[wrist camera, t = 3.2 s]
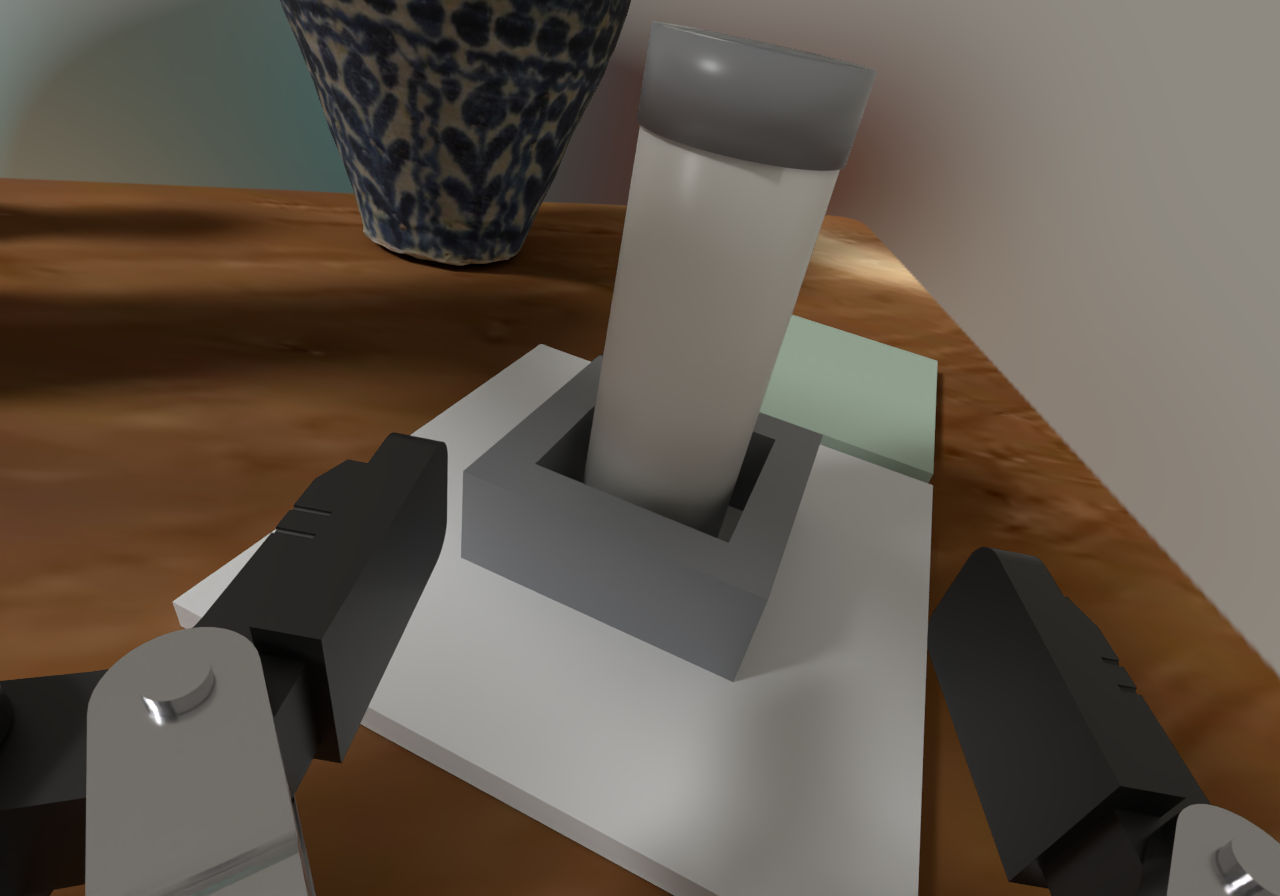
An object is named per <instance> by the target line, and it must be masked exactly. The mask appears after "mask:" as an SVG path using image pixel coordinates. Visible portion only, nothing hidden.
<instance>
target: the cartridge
mask: <svg viewBox="0 0 1280 896" xmlns="http://www.w3.org/2000/svg"><path fill="white" fill-rule="evenodd" d="M876 73H877V71H876V70H875V69H872V68H868V67H865V66H862V65H858V64H854V63H850V62H846V61H842V60H838V59H834V58H830V57H826V56H822V55H817V54H813V53H809V52H804V51H801V50H796V49H792V48H788V47H783V46H778V45H774V44H769V43H765V42H760V41H755V40H751V39H746V38H741V37H737V36H732V35H727V34H722V33H717V32H712V31H707V30H702V29H697V28H691V27H685V26H680V25H675V24H668V23H661V22H652V27H651V33H650V40H649V46H648V52H647V59H646V65H645V72H644V78H643V84H642V91H641V97H640V103H639V109H638V116H637V121H638V123H639V124H640V131H639V136H638V142H637V149H636V155H635V161H634V167H633V173H632V180H631V186H630V192H629V198H628V204H627V211H626V217H625V223H624V229H623V236H622V242H621V248H620V254H619V261H618V267H617V273H616V279H615V286H614V292H613V298H612V304H611V310H610V317H609V323H608V329H607V335H606V342H605V348H604V354H603V360H602V367H601V373H600V379H599V385H598V392H597V398H596V404H595V410H594V416H593V423H592V429H591V435H590V441H589V448H588V454H587V460H586V466H585V473H584V479H583V484H586V485H588V486H590V487H593V488H595V489H598V490H600V491H603V492H605V493H608V494H610V495H613V496H615V497H617V498H620V499H622V500H625V501H627V502H630V503H632V504H635V505H637V506H639V507H642V508H644V509H647V510H649V511H652V512H654V513H657V514H659V515H661V516H664V517H666V518H669V519H671V520H674V521H676V522H679V523H681V524H684V525H686V526H688V527H691V528H693V529H696V530H698V531H701V532H703V533H706V534H708V535H710V536H713V537H715V538H718V535H719V532H720V529H721V526H722V523H723V520H724V517H725V514H726V511H727V508H728V505H729V502H730V499H731V496H732V493H733V490H734V487H735V484H736V481H737V478H738V475H739V472H740V469H741V466H742V463H743V460H744V457H745V454H746V451H747V448H748V445H749V442H750V439H751V436H752V433H753V430H754V427H755V424H756V421H757V418H758V415H759V412H760V409H761V406H762V403H763V400H764V397H765V394H766V391H767V388H768V385H769V381H770V378H771V375H772V372H773V369H774V366H775V363H776V360H777V357H778V354H779V351H780V348H781V345H782V342H783V339H784V336H785V333H786V330H787V327H788V324H789V321H790V318H791V315H792V312H793V309H794V306H795V303H796V300H797V297H798V294H799V291H800V288H801V285H802V282H803V279H804V276H805V273H806V270H807V267H808V264H809V261H810V258H811V255H812V252H813V249H814V246H815V243H816V240H817V237H818V234H819V231H820V228H821V225H822V222H823V219H824V216H825V213H826V210H827V206H828V204H829V201H830V197H831V195H832V192H833V189H834V186H835V182H836V179H837V177H838V174H839V171H840V169H842V168H844V167H845V166H846V163H847V159H848V157H849V154H850V151H851V148H852V145H853V142H854V139H855V136H856V133H857V130H858V127H859V124H860V121H861V118H862V115H863V112H864V109H865V106H866V103H867V100H868V97H869V94H870V91H871V88H872V85H873V82H874V79H875V76H876Z"/></svg>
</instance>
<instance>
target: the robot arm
mask: <svg viewBox="0 0 1280 896" xmlns="http://www.w3.org/2000/svg"><path fill="white" fill-rule="evenodd" d="M447 487H448V451H447V446H446V443H445V442H442V441H436V440H431V439H426V438H421V437H415V436H410V435H405V434H400V433H391V434H390V435H388V437H387V438H386V439H385V440H384V442H383V443H382V445H381V446H380V447H379V449H378V450H377V451H376V453H375V454H374V456H373V457H372V458H371V460H370V461H369V462H368V463H363V462H358V461H353V460H346V461H344V462H343V463H341V464H339V465H338V466H336V467H334V468H333V469H331V470H329V471H328V472H326V473H324V474H322V475H321V476H319V477H317V478H316V479H315V480H314V481H313V482H312V483H311V484H310V486H309V487H308V488H307V489H306V491H305V492H304V493H303V494H302V496H301V497H300V498H299V499H298V500H297V502H296V503H295V504H294V508H293V510H289V511H288V513H287V514H286V515H285V516H284V518H283V519H282V520H281V521H280V523H279V524H278V525H277V526H276V531H275V533H272V532H271V534H270V535H269V536H268V537H267V538H266V540H265V541H264V542H263V543H262V545H261V546H260V547H259V548H258V550H257V551H256V552H255V553H254V554H253V556H252V557H251V558H250V559H249V561H248V562H247V563H246V564H245V565H244V567H243V568H242V569H241V570H240V572H239V573H238V574H237V575H236V577H235V578H234V579H233V580H232V581H231V583H230V584H229V585H228V586H227V588H226V589H225V590H224V591H223V592H222V594H221V595H220V596H219V597H218V599H217V600H216V601H215V602H214V604H213V605H212V606H211V607H210V608H209V610H208V611H207V612H206V613H205V615H204V616H203V617H202V618H201V619H200V620H199V621H198V623H197V624H196V625H195V626H194V627H193V628H188V629H183V630H179V631H175V632H171V633H168V634H165V635H162V636H159V637H157V638H155V639H153V640H150V641H148V642H146V643H144V644H142V645H141V646H139V647H137V648H135V649H134V650H132V651H131V652H129V653H128V654H127V655H125V656H124V657H122V658H121V659H120V660H119V661H118V662H116V663H115V664H114V665H113V666H112V667H111V668H110V669H107V670H100V671H93V672H85V673H75V674H65V675H55V676H45V677H35V678H25V679H16V680H6V681H0V896H50V894H51V893H52V891H53V890H55V889H60V888H66V887H71V886H77V885H82V884H85V896H316V892H315V888H314V883H313V878H312V874H311V869H310V864H309V860H308V855H307V851H306V846H305V841H304V837H303V832H302V827H301V823H300V818H299V813H298V809H297V804H296V799H295V795H294V794H295V792H296V790H297V788H298V787H299V785H300V783H301V781H302V779H303V777H304V775H305V773H306V771H307V769H308V767H309V765H310V763H311V761H312V759H313V758H314V759H320V760H325V761H331V762H337V763H342V761H343V759H344V757H345V755H346V753H347V750H348V748H349V746H350V744H351V742H352V740H353V738H354V736H355V734H356V731H357V729H358V727H359V725H360V723H361V721H362V719H363V717H364V715H365V713H366V710H367V708H368V706H369V704H370V702H371V700H372V698H373V696H374V694H375V692H376V689H377V687H378V685H379V683H380V681H381V679H382V677H383V675H384V673H385V670H386V668H387V666H388V664H389V662H390V660H391V658H392V656H393V654H394V652H395V649H396V647H397V645H398V643H399V641H400V639H401V637H402V635H403V633H404V631H405V628H406V626H407V624H408V622H409V620H410V618H411V616H412V614H413V612H414V609H415V607H416V605H417V603H418V601H419V599H420V597H421V595H422V593H423V591H424V588H425V586H426V584H427V582H428V580H429V578H430V576H431V574H432V572H433V570H434V567H435V565H436V563H437V561H438V559H439V556H440V553H441V550H442V547H443V543H444V539H445V534H446V527H447ZM927 643H928V650H929V654H930V657H931V660H932V663H933V666H934V669H935V672H936V675H937V677H938V680H939V683H940V686H941V689H942V692H943V695H944V697H945V700H946V703H947V706H948V709H949V712H950V715H951V718H952V720H953V723H954V726H955V729H956V732H957V735H958V738H959V741H960V743H961V746H962V749H963V752H964V755H965V758H966V761H967V764H968V766H969V769H970V772H971V775H972V778H973V781H974V784H975V787H976V789H977V792H978V795H979V798H980V801H981V804H982V807H983V809H984V812H985V815H986V818H987V821H988V824H989V827H990V830H991V832H992V835H993V838H994V841H995V844H996V847H997V850H998V853H999V855H1000V858H1001V861H1002V864H1003V867H1004V870H1005V873H1006V876H1007V878H1008V881H1009V882H1013V883H1019V884H1025V885H1031V886H1036V887H1042V888H1048V889H1049V890H1050V893H1051V895H1052V896H1280V844H1279V843H1278V842H1277V841H1276V840H1275V839H1273V838H1272V837H1271V836H1270V835H1268V834H1267V833H1266V832H1264V831H1263V830H1262V829H1260V828H1259V827H1257V826H1256V825H1254V824H1253V823H1251V822H1249V821H1248V820H1246V819H1244V818H1243V817H1241V816H1239V815H1237V814H1235V813H1233V812H1231V811H1228V810H1226V809H1223V808H1220V807H1217V806H1212V805H1211V804H1210V803H1209V801H1208V799H1207V798H1206V796H1205V795H1204V793H1203V792H1202V790H1201V788H1200V787H1199V785H1198V784H1197V782H1196V781H1195V779H1194V777H1193V776H1192V774H1191V773H1190V771H1189V770H1188V768H1187V766H1186V765H1185V763H1184V762H1183V760H1182V758H1181V757H1180V755H1179V754H1178V752H1177V751H1176V749H1175V747H1174V746H1173V744H1172V743H1171V741H1170V740H1169V738H1168V736H1167V735H1166V733H1165V732H1164V730H1163V728H1162V727H1161V725H1160V724H1159V722H1158V721H1157V719H1156V717H1155V716H1154V714H1153V713H1152V711H1151V710H1150V708H1149V706H1148V705H1147V703H1146V702H1145V700H1144V699H1143V697H1142V695H1138V694H1136V688H1137V687H1136V686H1135V684H1134V683H1133V681H1132V680H1131V678H1130V676H1129V675H1128V673H1127V672H1126V670H1125V669H1124V667H1121V666H1119V665H1118V662H1119V659H1118V657H1117V656H1116V654H1115V653H1114V651H1113V650H1112V648H1111V646H1110V645H1109V643H1108V642H1107V640H1106V639H1105V637H1104V635H1103V634H1102V632H1101V631H1100V629H1099V628H1098V627H1097V626H1096V625H1095V624H1094V623H1093V622H1092V621H1091V620H1090V619H1089V618H1088V617H1087V616H1086V615H1085V614H1084V613H1083V612H1082V611H1081V610H1080V609H1079V608H1078V607H1077V606H1076V605H1075V604H1074V603H1073V602H1072V601H1071V600H1070V599H1069V598H1068V597H1064V596H1063V594H1062V592H1061V591H1060V589H1059V588H1058V586H1057V584H1056V583H1055V581H1054V579H1053V578H1052V576H1051V574H1050V573H1049V571H1048V569H1047V568H1046V566H1045V565H1044V563H1043V562H1042V561H1041V560H1040V559H1039V558H1037V557H1035V556H1031V555H1025V554H1020V553H1015V552H1010V551H1004V550H999V549H994V548H989V547H981V548H978V549H977V550H975V551H974V552H973V553H972V554H971V555H970V557H969V558H968V560H967V561H966V563H965V564H964V566H963V567H962V569H961V571H960V572H959V574H958V575H957V577H956V578H955V580H954V581H953V583H952V584H951V586H950V587H949V589H948V590H947V592H946V594H945V595H944V597H943V598H942V600H941V601H940V603H939V604H938V606H937V607H936V609H935V610H934V612H933V614H932V616H931V619H930V622H929V626H928V634H927Z"/></svg>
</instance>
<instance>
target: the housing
mask: <svg viewBox="0 0 1280 896" xmlns="http://www.w3.org/2000/svg"><path fill="white" fill-rule="evenodd" d="M602 360H603V356H601V355H599V356H598V357H597V358H596V359H594V360H593V361H592V362H590V361H587V360H584V359H582V358H579V357H576V356H573V355H571V354H568V353H565V352H562V351H559V350H557V349H554V348H551V347H548V346H546V345H543V344H540V345H538V346H537V347H535V348H534V349H533V350H531V351H530V352H528V353H527V354H525V355H524V356H523V357H521V358H520V359H518V360H517V361H516V362H514V363H513V364H511V365H510V366H508V367H507V368H506V369H504V370H503V371H501V372H500V373H498V374H497V375H496V376H494V377H493V378H491V379H490V380H488V381H487V382H486V383H484V384H483V385H481V386H480V387H478V388H477V389H476V390H474V391H473V392H471V393H470V394H468V395H467V396H466V397H464V398H463V399H461V400H460V401H458V402H457V403H456V404H454V405H453V406H451V407H450V408H448V409H447V410H446V411H444V412H443V413H441V414H440V415H438V416H437V417H436V418H434V419H433V420H431V421H430V422H428V423H427V424H426V425H424V426H423V427H421V428H420V429H418V430H417V431H416V432H414V433H413V434H411V435H410V436H415V437H421V438H426V439H431V440H436V441H442V442H445V443H446V446H447V451H448V487H447V527H446V534H445V539H444V543H443V547H442V550H441V553H440V556H439V559H438V561H437V563H436V565H435V567H434V570H433V572H432V574H431V576H430V578H429V580H428V582H427V584H426V586H425V588H424V591H423V593H422V595H421V597H420V599H419V601H418V603H417V605H416V607H415V609H414V612H413V614H412V616H411V618H410V620H409V622H408V624H407V626H406V628H405V631H404V633H403V635H402V637H401V639H400V641H399V643H398V645H397V647H396V649H395V652H394V654H393V656H392V658H391V660H390V662H389V664H388V666H387V668H386V670H385V673H384V675H383V677H382V679H381V681H380V683H379V685H378V687H377V689H376V692H375V694H374V696H373V698H372V700H371V702H370V704H369V706H368V708H367V710H366V713H365V715H364V717H363V719H362V721H361V723H360V724H361V725H363V726H365V727H367V728H369V729H370V730H372V731H374V732H376V733H378V734H380V735H381V736H383V737H385V738H387V739H389V740H391V741H392V742H394V743H396V744H398V745H400V746H402V747H403V748H405V749H407V750H409V751H411V752H413V753H414V754H416V755H418V756H420V757H422V758H423V759H425V760H427V761H429V762H431V763H433V764H434V765H436V766H438V767H440V768H442V769H444V770H445V771H447V772H449V773H451V774H453V775H455V776H456V777H458V778H460V779H462V780H464V781H466V782H467V783H469V784H471V785H473V786H475V787H477V788H478V789H480V790H482V791H484V792H486V793H488V794H489V795H491V796H493V797H495V798H497V799H499V800H500V801H502V802H504V803H506V804H508V805H509V806H511V807H513V808H515V809H517V810H519V811H520V812H522V813H524V814H526V815H528V816H530V817H531V818H533V819H535V820H537V821H539V822H541V823H542V824H544V825H546V826H548V827H550V828H552V829H553V830H555V831H557V832H559V833H561V834H563V835H564V836H566V837H568V838H570V839H572V840H574V841H575V842H577V843H579V844H581V845H583V846H585V847H586V848H588V849H590V850H592V851H594V852H596V853H597V854H599V855H601V856H603V857H605V858H606V859H608V860H610V861H612V862H614V863H616V864H617V865H619V866H621V867H623V868H625V869H627V870H628V871H630V872H632V873H634V874H636V875H638V876H639V877H641V878H643V879H645V880H647V881H649V882H650V883H652V884H654V885H656V886H658V887H660V888H661V889H663V890H665V891H667V892H669V893H671V894H672V895H674V896H918V880H919V853H920V826H921V798H922V771H923V744H924V717H925V689H926V662H927V634H928V607H929V580H930V553H931V525H932V498H933V485H931V484H928V483H925V482H923V481H920V480H917V479H914V478H911V477H909V476H906V475H903V474H900V473H898V472H895V471H892V470H889V469H886V468H884V467H881V466H878V465H875V464H873V463H870V462H867V461H864V460H862V459H859V458H856V457H853V456H850V455H848V454H845V453H842V452H839V451H837V450H834V449H831V448H828V447H826V446H823V445H820V443H821V440H822V437H823V435H822V434H819V433H816V432H813V431H811V430H808V429H805V428H802V427H799V426H797V425H794V424H791V423H788V422H785V421H783V420H780V419H777V418H774V417H771V416H769V415H766V414H763V413H760V412H759V415H758V418H757V421H756V424H755V427H754V430H753V433H752V436H751V439H750V442H749V445H748V448H747V451H746V454H745V457H744V460H743V463H742V466H741V469H740V472H739V475H738V478H737V481H736V484H735V487H734V490H733V493H732V496H731V499H730V502H729V505H728V508H727V511H726V514H725V517H724V520H723V523H722V526H721V529H720V532H719V535H718V538H715V537H713V536H710V535H708V534H706V533H703V532H701V531H698V530H696V529H693V528H691V527H688V526H686V525H684V524H681V523H679V522H676V521H674V520H671V519H669V518H666V517H664V516H661V515H659V514H657V513H654V512H652V511H649V510H647V509H644V508H642V507H639V506H637V505H635V504H632V503H630V502H627V501H625V500H622V499H620V498H617V497H615V496H613V495H610V494H608V493H605V492H603V491H600V490H598V489H595V488H593V487H590V486H588V485H586V484H583V479H584V473H585V466H586V460H587V454H588V448H589V441H590V435H591V429H592V423H593V416H594V410H595V404H596V398H597V392H598V385H599V379H600V373H601V367H602ZM275 531H276V530H274V531H273V532H272V533H275ZM270 534H271V533H270ZM270 534H269V535H270ZM269 535H267V536H266V537H264V538H263V539H261V540H260V541H259V542H257V543H256V544H254V545H253V546H251V547H250V548H249V549H247V550H246V551H244V552H243V553H241V554H240V555H239V556H237V557H236V558H234V559H233V560H231V561H230V562H229V563H227V564H226V565H224V566H223V567H221V568H220V569H219V570H217V571H216V572H214V573H213V574H211V575H210V576H209V577H207V578H206V579H204V580H203V581H201V582H200V583H199V584H197V585H196V586H194V587H193V588H191V589H190V590H189V591H187V592H186V593H184V594H183V595H181V596H180V597H179V598H177V599H176V600H174V601H173V605H174V608H175V611H176V613H177V616H178V619H179V622H180V625H181V626H182V627H184V628H186V629H188V628H193V627H194V626H195V625H196V624H197V623H198V621H199V620H200V619H201V618H202V617H203V616H204V615H205V613H206V612H207V611H208V610H209V608H210V607H211V606H212V605H213V604H214V602H215V601H216V600H217V599H218V597H219V596H220V595H221V594H222V592H223V591H224V590H225V589H226V588H227V586H228V585H229V584H230V583H231V581H232V580H233V579H234V578H235V577H236V575H237V574H238V573H239V572H240V570H241V569H242V568H243V567H244V565H245V564H246V563H247V562H248V561H249V559H250V558H251V557H252V556H253V554H254V553H255V552H256V551H257V550H258V548H259V547H260V546H261V545H262V543H263V542H264V541H265V540H266V538H267V537H268V536H269Z"/></svg>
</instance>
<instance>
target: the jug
mask: <svg viewBox="0 0 1280 896" xmlns="http://www.w3.org/2000/svg"><path fill="white" fill-rule="evenodd" d="M280 2H281V5H282V7H283V9H284V12H285V14H286V17H287V19H288V22H289V24H290V27H291V29H292V32H293V34H294V36H295V38H296V41H297V43H298V46H299V48H300V50H301V53H302V55H303V58H304V60H305V63H306V65H307V68H308V70H309V72H310V75H311V77H312V79H313V81H314V84H315V87H316V90H317V93H318V96H319V99H320V102H321V105H322V108H323V111H324V114H325V117H326V120H327V123H328V126H329V129H330V131H331V134H332V136H333V139H334V141H335V144H336V146H337V149H338V151H339V153H340V156H341V158H342V161H343V163H344V166H345V169H346V171H347V174H348V176H349V179H350V182H351V185H352V187H353V190H354V193H355V196H356V200H357V205H358V209H359V211H360V214H361V217H362V222H363V232H365V235H366V236H367V237H369V238H370V239H371V240H372V241H374V242H376V243H378V244H380V245H382V246H384V247H386V248H387V249H389V250H391V251H394V252H397V253H403V254H407V255H410V256H413V257H415V258H418V259H421V260H431V261H436V262H440V263H445V264H451V265H457V266H463V265H467V264H486V263H491V262H495V261H500V260H508V259H509V258H511V257H513V256H515V255H516V254H517V253H518V252H519V251H520V249H521V248H522V245H523V243H524V241H525V239H526V237H527V234H528V232H529V230H530V228H531V226H532V223H533V221H534V218H535V216H536V214H537V212H538V210H539V207H540V205H541V203H542V201H543V200H544V198H545V196H546V194H547V192H548V190H549V188H550V186H551V184H552V182H553V180H554V178H555V176H556V173H557V171H558V168H559V166H560V163H561V161H562V158H563V156H564V153H565V151H566V148H567V146H568V144H569V141H570V139H571V137H572V135H573V132H574V131H575V129H576V127H577V125H578V123H579V121H580V119H581V117H582V115H583V113H584V111H585V109H586V107H587V105H588V103H589V102H590V100H591V98H592V96H593V95H594V93H595V91H596V89H597V87H598V85H599V83H600V81H601V79H602V77H603V76H604V73H605V70H606V68H607V65H608V62H609V60H610V58H611V56H612V54H613V52H614V50H615V47H616V44H617V41H618V39H619V36H620V33H621V30H622V27H623V25H624V22H625V19H626V16H627V13H628V9H629V6H630V2H631V0H280Z"/></svg>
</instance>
